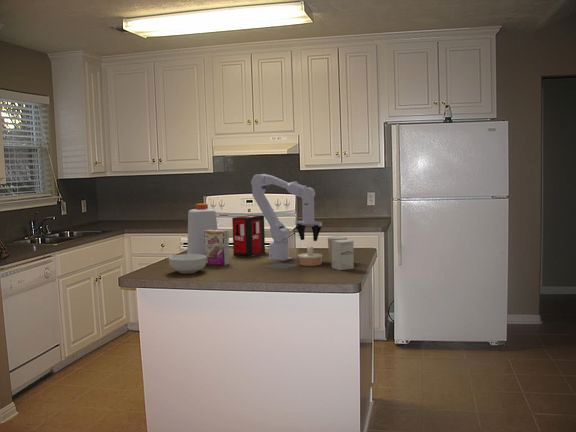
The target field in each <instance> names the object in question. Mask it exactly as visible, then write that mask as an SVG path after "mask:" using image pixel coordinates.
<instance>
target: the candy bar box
mask: <svg viewBox="0 0 576 432" xmlns="http://www.w3.org/2000/svg"><path fill="white" fill-rule="evenodd" d="M229 237H230V236H229V230H225V229H223V230H221V229H218V230H205V231H204V242H205V256H206V257H207V260H206V265H211V266H227V265H230V243H229V242H230V240H229V239H230V238H229Z"/></svg>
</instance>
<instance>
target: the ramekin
mask: <svg viewBox="0 0 576 432" xmlns="http://www.w3.org/2000/svg"><path fill="white" fill-rule="evenodd" d="M322 257H323V256H322ZM322 257H320V258H300V257H299V266H304V267H313V266H321V265H322Z"/></svg>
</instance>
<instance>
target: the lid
mask: <svg viewBox="0 0 576 432" xmlns="http://www.w3.org/2000/svg"><path fill="white" fill-rule="evenodd" d="M320 257H324V256H323V254H322V253H318V252H314V247H313V246H307V247H306V253H305V252H304V253H303V252H302V253H299V254H297V258H299V259H300V258H320Z"/></svg>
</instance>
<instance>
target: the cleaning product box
mask: <svg viewBox="0 0 576 432" xmlns="http://www.w3.org/2000/svg"><path fill="white" fill-rule="evenodd" d="M231 220H232V223H231V224H232V249H233V250H232V252H233V257H241V258H251V257H254V256H257V255H260V254H265V253H266V246H265V244H266V241H265V235H266V234H265V216H264V214H261V215H260V214H259V215H258V214H257V215H256V214H249V215H241V216H236V217H232V219H231ZM253 255H254V256H253Z"/></svg>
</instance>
